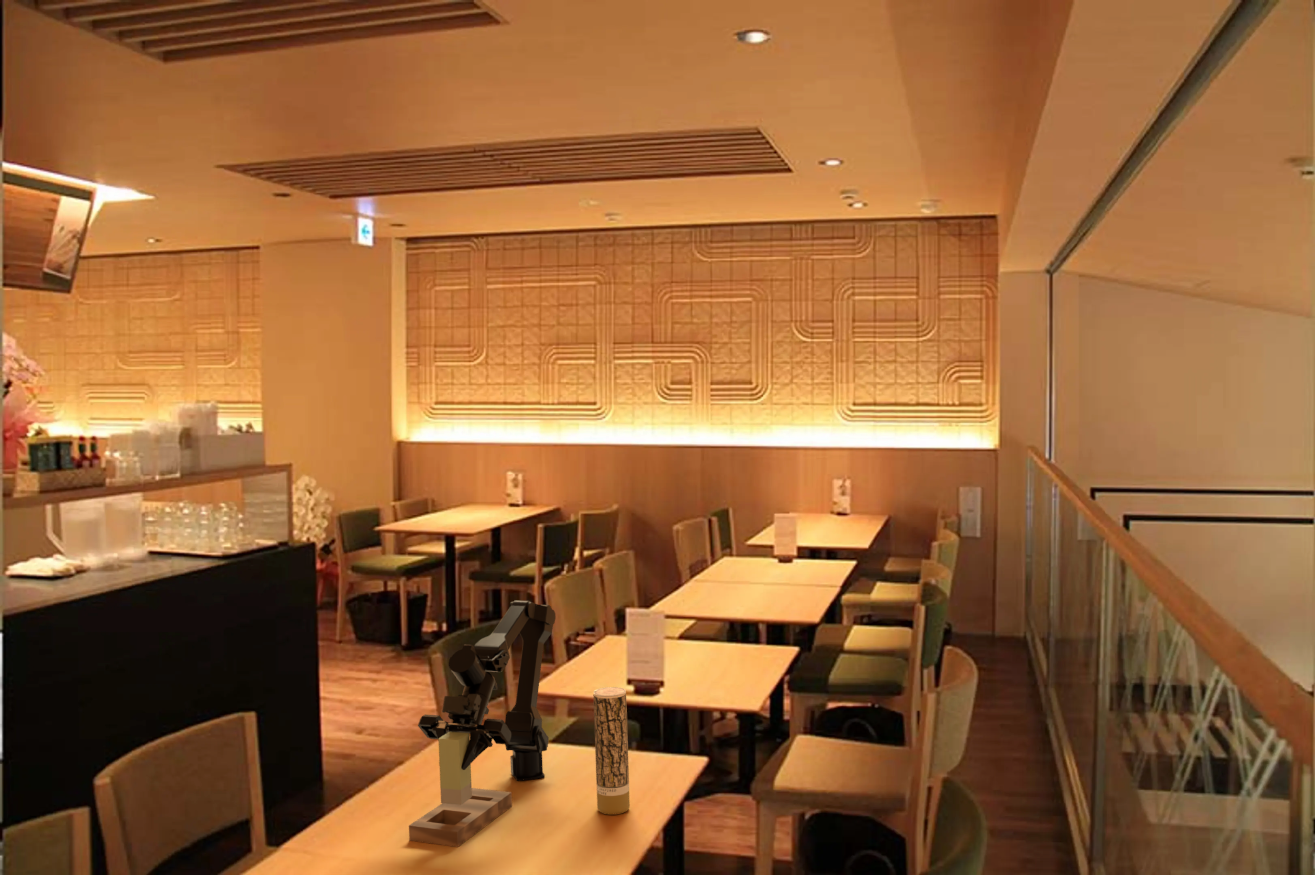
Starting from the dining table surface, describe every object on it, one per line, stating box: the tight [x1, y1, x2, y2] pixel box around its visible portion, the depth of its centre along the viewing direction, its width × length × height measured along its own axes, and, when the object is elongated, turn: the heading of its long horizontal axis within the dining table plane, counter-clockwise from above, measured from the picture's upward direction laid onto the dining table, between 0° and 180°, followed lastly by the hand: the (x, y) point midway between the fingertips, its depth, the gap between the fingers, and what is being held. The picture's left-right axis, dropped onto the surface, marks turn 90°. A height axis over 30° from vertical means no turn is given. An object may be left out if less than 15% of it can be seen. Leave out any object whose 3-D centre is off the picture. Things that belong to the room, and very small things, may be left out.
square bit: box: [437, 732, 473, 805], centre depth 223 cm, size 4×4×13 cm
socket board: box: [408, 787, 513, 848], centre depth 228 cm, size 22×11×3 cm, turn 159°
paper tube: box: [593, 686, 631, 815], centre depth 232 cm, size 7×7×25 cm
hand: (451, 768), depth 221 cm, fingers closed on square bit, 4 cm apart
